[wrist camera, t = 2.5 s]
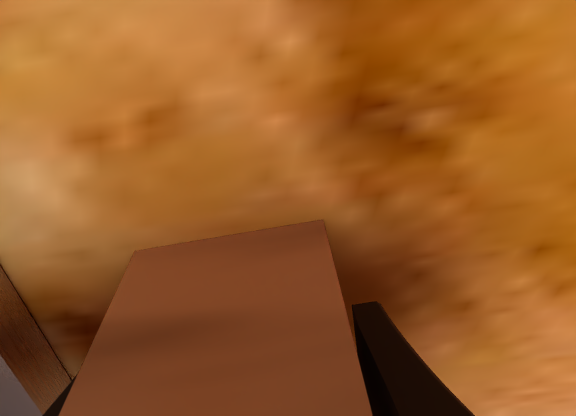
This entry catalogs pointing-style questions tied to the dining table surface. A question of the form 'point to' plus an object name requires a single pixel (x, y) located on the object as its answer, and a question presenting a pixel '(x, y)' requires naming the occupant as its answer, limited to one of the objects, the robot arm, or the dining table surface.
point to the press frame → (25, 360)
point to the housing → (226, 333)
